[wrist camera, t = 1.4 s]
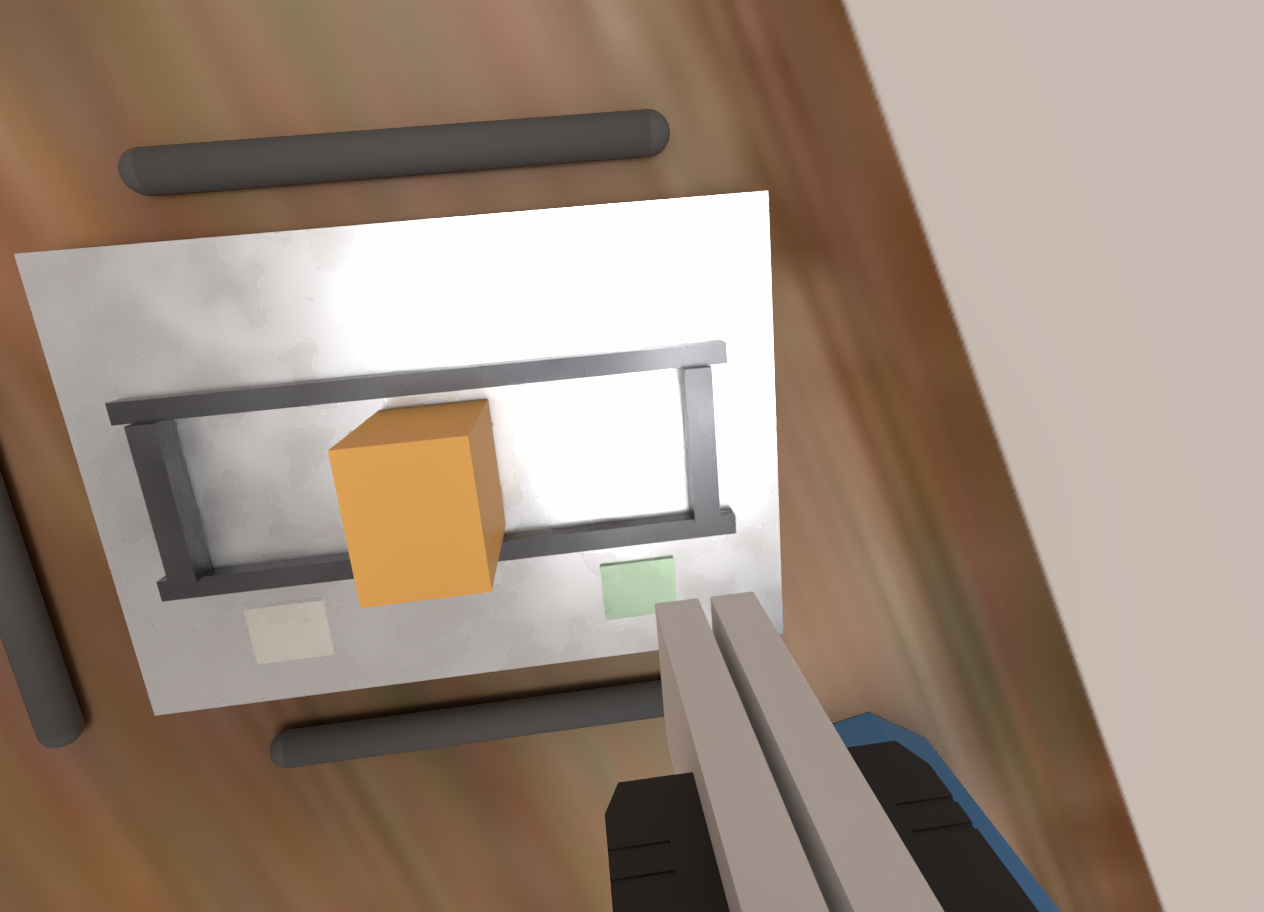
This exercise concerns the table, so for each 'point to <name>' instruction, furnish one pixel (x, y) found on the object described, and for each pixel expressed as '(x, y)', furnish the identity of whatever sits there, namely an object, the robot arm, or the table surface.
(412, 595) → the matte orange cube
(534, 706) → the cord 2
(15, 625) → the rounded gray dowel
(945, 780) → the water bottle
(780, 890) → the robot arm
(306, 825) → the table surface
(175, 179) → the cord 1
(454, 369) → the panel
